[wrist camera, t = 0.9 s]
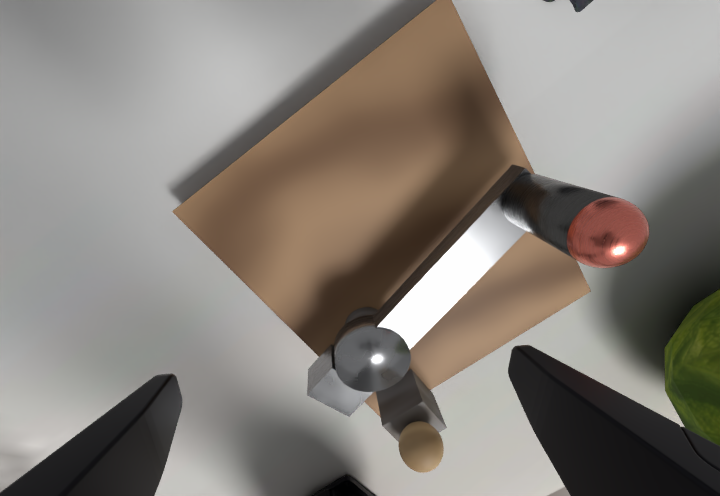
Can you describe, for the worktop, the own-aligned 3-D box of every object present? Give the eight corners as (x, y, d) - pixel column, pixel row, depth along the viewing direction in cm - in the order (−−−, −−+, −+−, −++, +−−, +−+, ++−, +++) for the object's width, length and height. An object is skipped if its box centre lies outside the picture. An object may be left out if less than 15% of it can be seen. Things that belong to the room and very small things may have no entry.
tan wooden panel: (578, 285, 25) (671, 348, 19) (382, 407, 28) (402, 501, 21) (437, 1, 18) (510, -69, 11) (182, 204, 20) (112, 251, 13)
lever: (353, 393, 23) (370, 534, 15) (300, 364, 22) (290, 504, 14) (545, 196, 19) (696, 253, 11) (496, 146, 18) (630, 172, 10)
